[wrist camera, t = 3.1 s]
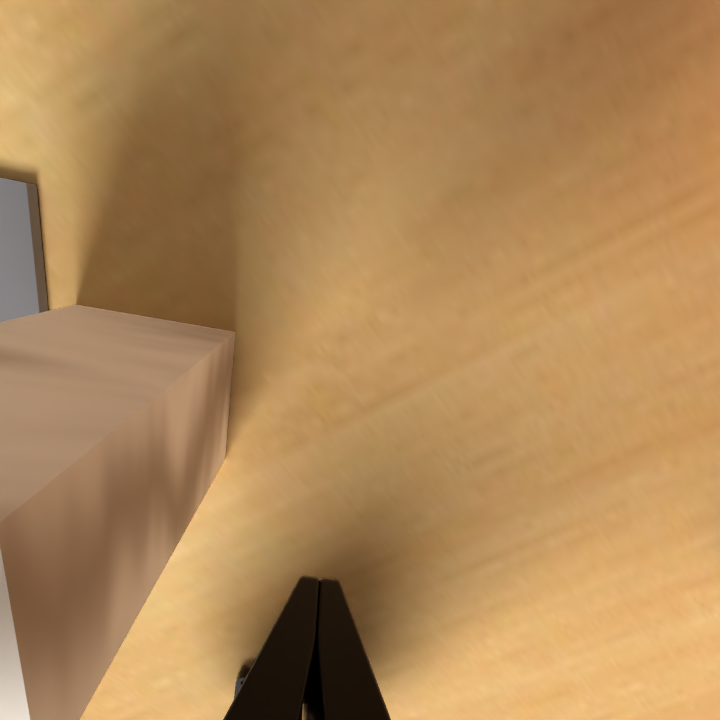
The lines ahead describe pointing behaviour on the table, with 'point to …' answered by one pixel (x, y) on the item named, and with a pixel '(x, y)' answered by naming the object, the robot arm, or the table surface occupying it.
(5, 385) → the cream block
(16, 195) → the mat
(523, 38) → the table surface
